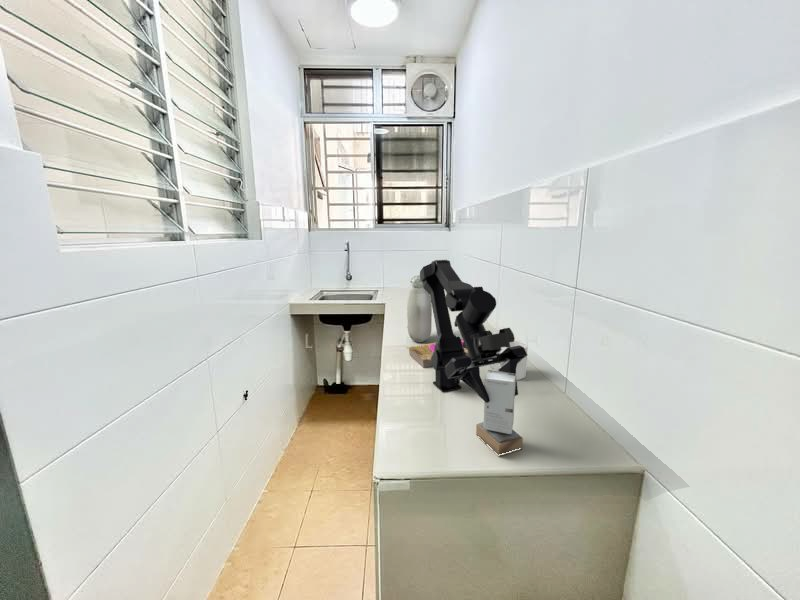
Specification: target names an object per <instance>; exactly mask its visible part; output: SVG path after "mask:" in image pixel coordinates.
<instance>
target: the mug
mask: <svg viewBox="0 0 800 600" xmlns="http://www.w3.org/2000/svg"><path fill="white" fill-rule="evenodd" d="M509 343H510V347H513V346H519V345H520V346H522V347H524V349H525V351H526V353H527V354H528V344H527V343H525V342H523V341H520V340H514V342H509ZM507 348H508V347H501V349H502V350H501V351H500V352H497V353H499V354H501V353H502V352H503V351H504V350H506V349H507ZM491 360H492V359H491ZM489 361H490V360H489ZM527 362H528V355H527V356H526V357H525V358H523V359H522V360H521V361H520V362H519V363H517V367H516V380H517V381H519V380H523V379H524V378H525V377H526V375H527V365H528V364H527ZM488 366H489V367H490V369H492V370H493V371H498V370H499V369H500V368H501V366H500V364H499V363H498V365H496V364H491V365H488Z"/></svg>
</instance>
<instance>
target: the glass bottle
mask: <svg viewBox="0 0 800 600" xmlns="http://www.w3.org/2000/svg"><path fill="white" fill-rule="evenodd" d="M408 291H409V292H408V295H407V296H408V297H407V301H406V311H407V312H406V316H407V332H408V336H409V338H410V339H411V340H413V341H414V342H416V343H423V342H426V341H427V340H429V338H430V337H431V334H432V317H433V316H432V315H433V314H432V313H433V308H432V303H431V298H430V294H429V293H428V292H427V291H426V290H425V289H424V288H423V284H422V281H421V280H420V275H415V276H413V277H412V278H411V279H410V282H409V290H408Z"/></svg>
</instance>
